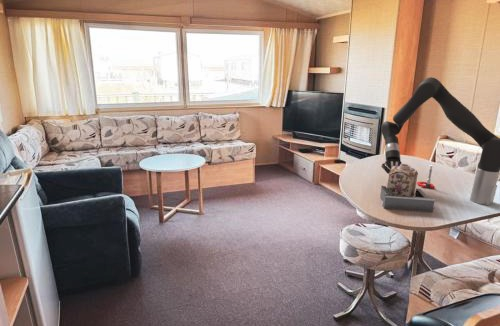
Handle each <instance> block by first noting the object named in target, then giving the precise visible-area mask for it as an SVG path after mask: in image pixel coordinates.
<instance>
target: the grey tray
mask: <svg viewBox="0 0 500 326" xmlns="http://www.w3.org/2000/svg"><path fill="white" fill-rule="evenodd" d="M379 195H380V196H379V197H380V199H381V201H382V208H383V209H386V210H397V211H398V210H399V211H412V212H425V213H433V211H434V206H435V201H436V199H435V198H432V197H429V196H428V195H427V194H426V193H425V192H424V191H423V190H422V189H421V188H415V193H414V197H411V196H397V195H391V193H390V192H389V190H388V189H387V185H386V186H385V185H381V189H380V194H379Z"/></svg>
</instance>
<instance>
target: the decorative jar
mask: <svg viewBox="0 0 500 326" xmlns="http://www.w3.org/2000/svg"><path fill="white" fill-rule="evenodd" d="M418 175H419V173H418V170H417V169H415V168H413V167H411V165H410V164H408V163H402V164H400V166H393V167H392V169H391V171H390V173H389V174H388V178H387V184H386V187H387V189H388V190H389V192H390V193H391V195H397V196H411V197H415V193H416V189H417V188H416V187H417V182H418V181H417V180H418Z"/></svg>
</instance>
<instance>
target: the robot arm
mask: <svg viewBox="0 0 500 326" xmlns="http://www.w3.org/2000/svg"><path fill="white" fill-rule="evenodd" d="M431 98H432V99H433V100H434V101H436V102H437V103H438V104H439V106H440V107H441V109H442V111H443V113H444V115H445V116H446V118H447V119H448V120H449V121H450V122H451V123H452V124H453V125H454V126H455V127H456V128H458V129H459V130H460V131H462V132H463V133H465V134H466V135H468V136H469V137H471V138H472V139H473V140H474V141H475V142H476V143H477V144H478V145H479V147H480V148H481V149H482V150H481V153H480V158H479V161H478V163H477V168H476V173H475V177H474V180H473V184H472V185H473V186H472V188H471V193H470V198H469V200H470V201H471V202H473V203H477V204H479V205H486V206H490V205H492V204H493V203H494V200H495V196H496V192H497V188H498V184H497V182H498V180H499V179H498V178H499V176H500V137H498V136H497V135H495V134H494V133H493V132H491V131H490V130H489V129H487V128H486V127H485V126H484V125H483V123H482V122H481V120H480V119H478V117H477V116H476V115H475V114H474V113H473V112H472V111H470V110H469V109H468V108H467V107H466V106H465V105H464V104H463V103H461V101H459V100H458V99H457V98H456V97H455V96H454V95H452V93H451V92H449V90H448V89H447V88H446V87H445V85H443V83H442V82H441V81H440V80H439V79H437V78H436V77H427V78H425V79H423V80H422V81H421V82H420V83H419V84H418V87H417V88H416V90H415V91H414V93H412V96H411V97H410V98H409V99H408V101H407V102H406V103H404V105H403V106H401V108H400V109H399V110H397V112H396V113H395V114H394V115H393V117H392V120H393V122H392V121H389V120H387V121H384V122H382V124H381V126H380V129H381V131H380V132H381V134H382V137H383V139H384V141H385V142H384V143H385V145H384V147H385V148H384V153H385V156H384V157H385V161H384V162H383V163H382V164H381V166H380V167H381V168H382V169H383V170H384V171H385V172H386V173H387V174H388V175H389V173H390V171H391V169H392V167H393V166H400V164H403V163H402V161H401V150H400V143H399V138H398V135H399V134H400V133H401V131H402V128H403V127H404V125H405V123H406V122H407V121H408V120H409V119H410V118H411V117H412V116H413V115H414V114H415V113H416V111H417V110H418V109H419V108H420V107H421V106H422V105H423V104H424V103H425V102H427V101H428V100H430V99H431Z"/></svg>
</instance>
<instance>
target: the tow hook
mask: <svg viewBox="0 0 500 326" xmlns="http://www.w3.org/2000/svg"><path fill="white" fill-rule="evenodd" d="M432 172H433V165H430V169H429V171H428V177H427V180H426V181H417V182H416V185H418V186H419V187H421V188H426V189H435V185H434V184H433V183H431V178H432Z"/></svg>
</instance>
